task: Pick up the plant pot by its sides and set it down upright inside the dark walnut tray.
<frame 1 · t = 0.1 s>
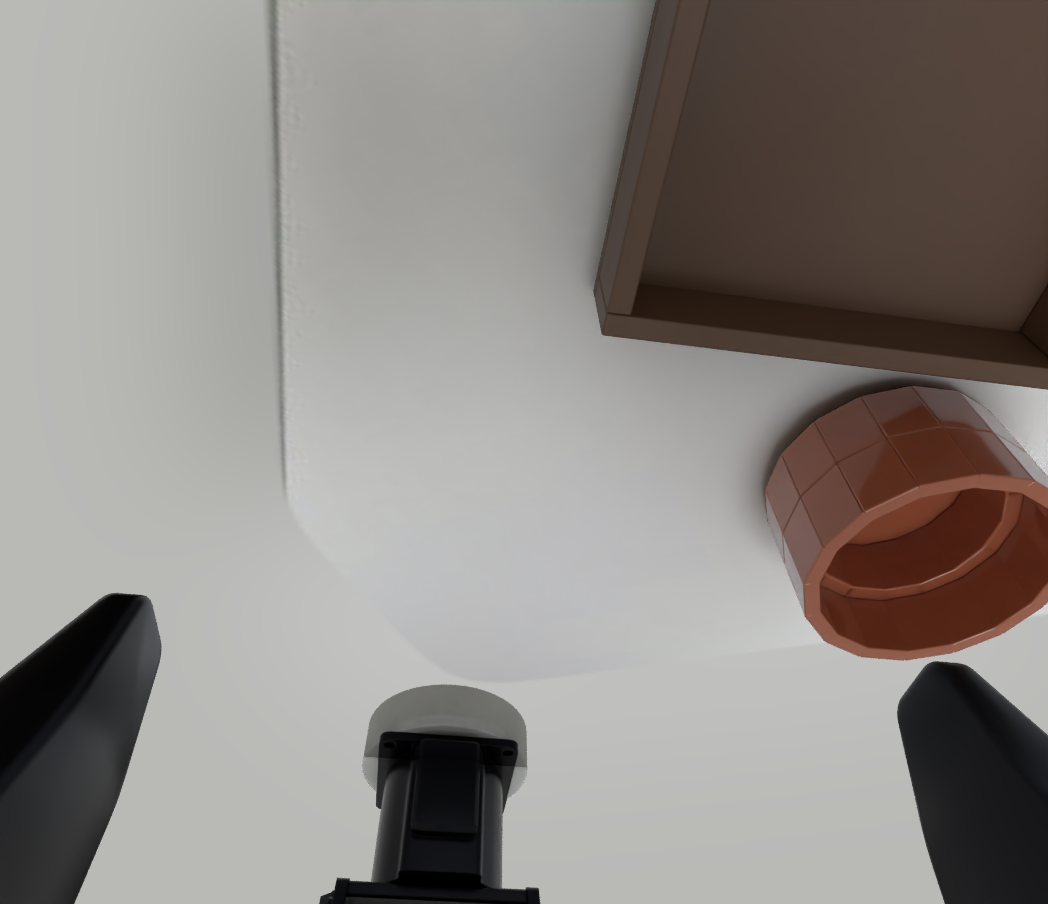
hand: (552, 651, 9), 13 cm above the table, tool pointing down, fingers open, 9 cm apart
tray: (933, 27, 16), on the table
plant pot: (875, 472, 24), on the table
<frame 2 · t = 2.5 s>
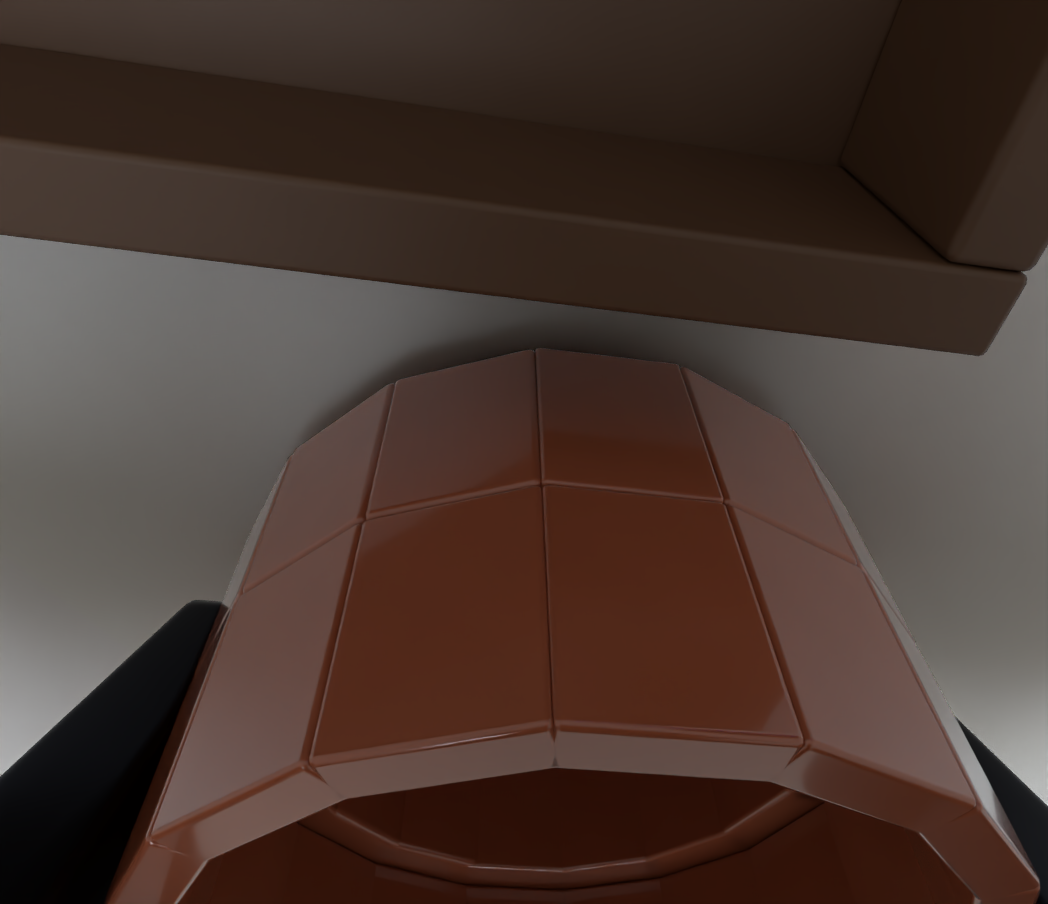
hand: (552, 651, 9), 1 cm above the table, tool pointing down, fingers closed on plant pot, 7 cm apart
plant pot: (546, 572, 10), on the table, touching gripper
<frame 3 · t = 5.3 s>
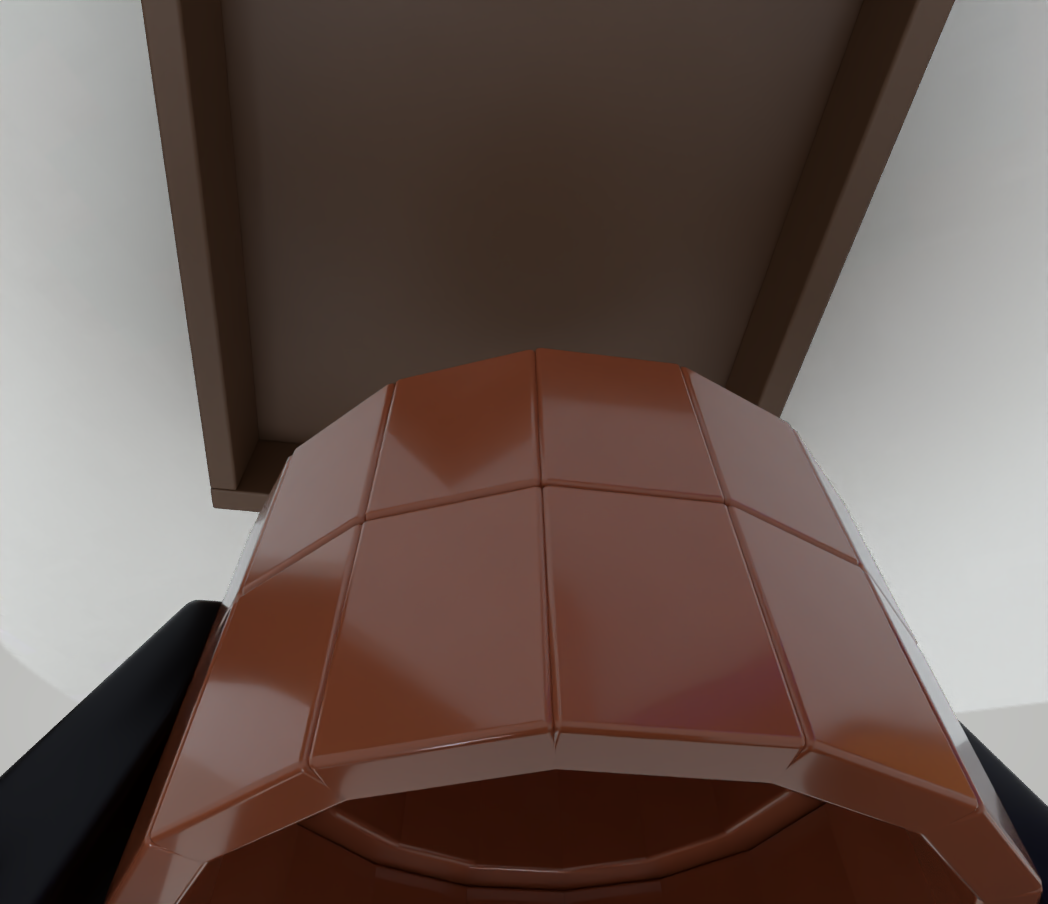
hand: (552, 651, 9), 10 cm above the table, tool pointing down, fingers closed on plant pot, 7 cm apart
tray: (514, 205, 16), on the table
plant pot: (547, 572, 10), point 9 cm above the table, touching gripper
when the fingers open (2 cm above the table, at t = 7.9 s): plant pot stays where it is, resting on tray.
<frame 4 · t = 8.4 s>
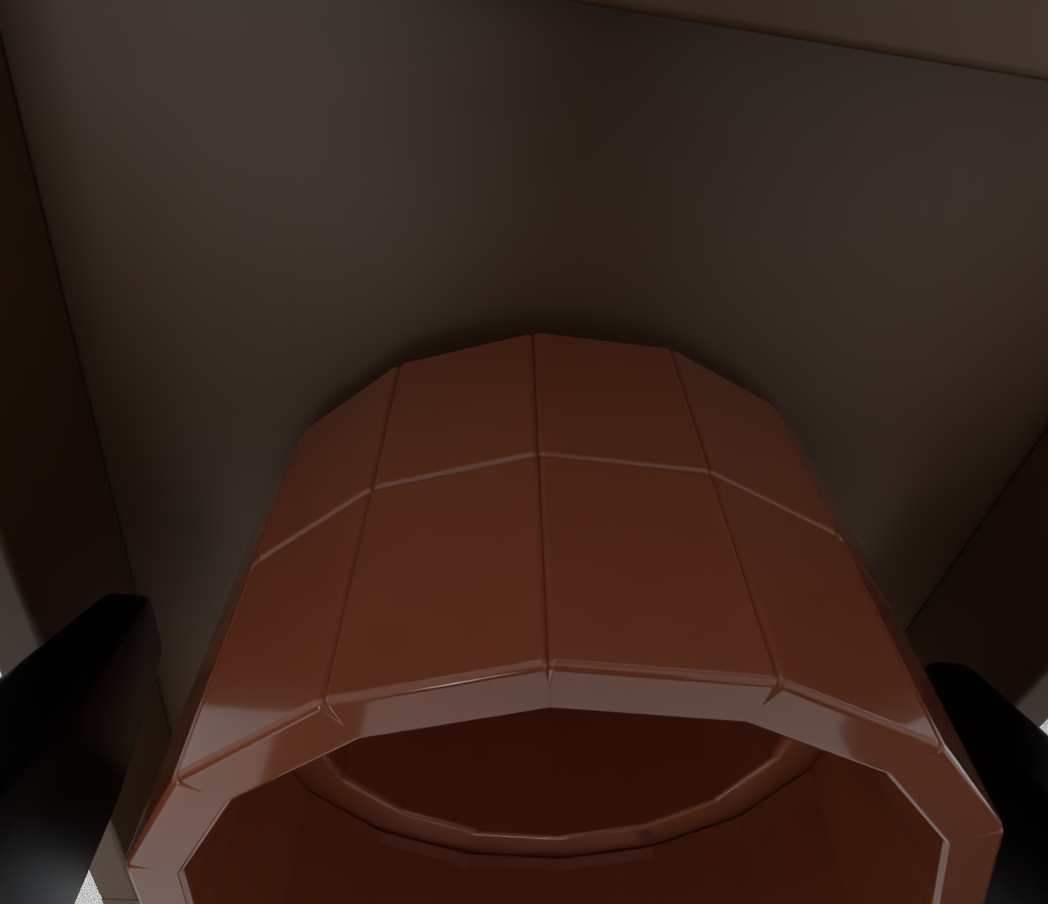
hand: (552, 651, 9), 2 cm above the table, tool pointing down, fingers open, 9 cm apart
tray: (546, 530, 10), on the table
plant pot: (545, 552, 10), resting on tray
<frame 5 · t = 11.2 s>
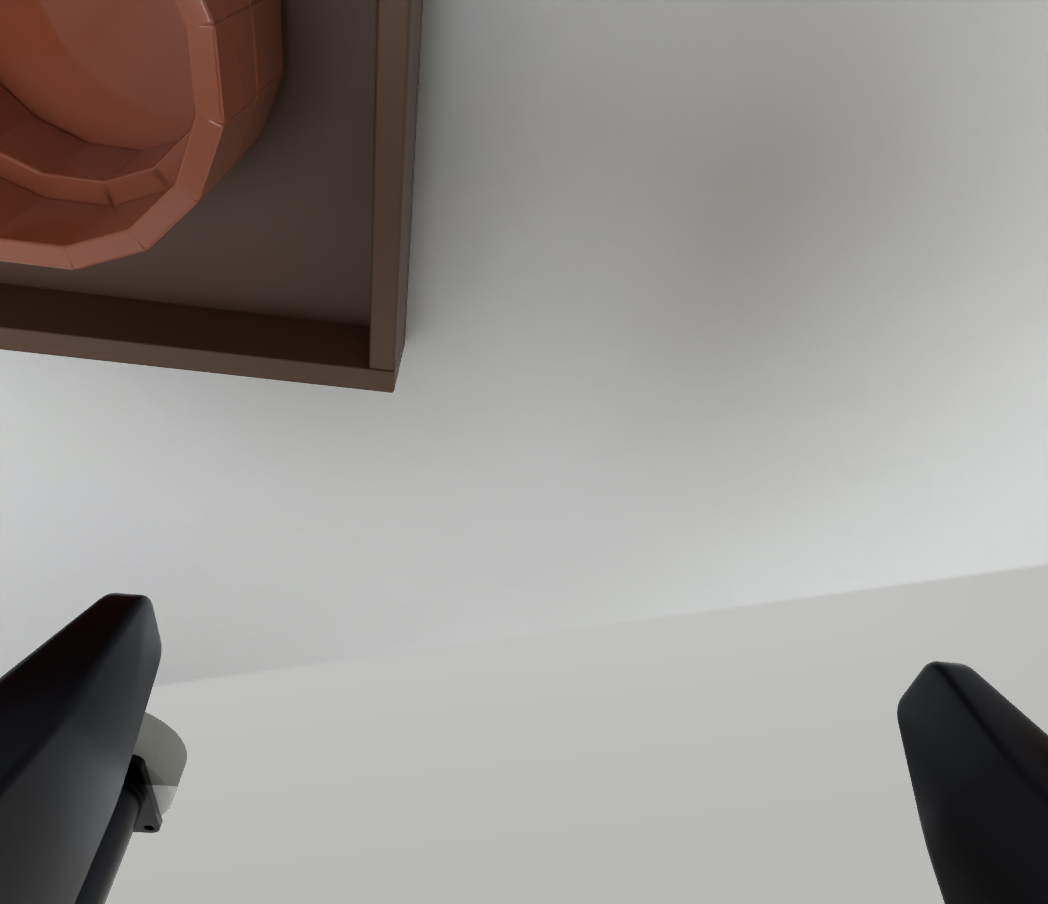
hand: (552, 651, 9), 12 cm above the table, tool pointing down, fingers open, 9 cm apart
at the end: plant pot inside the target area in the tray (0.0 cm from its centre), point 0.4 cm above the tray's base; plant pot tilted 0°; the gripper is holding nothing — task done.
